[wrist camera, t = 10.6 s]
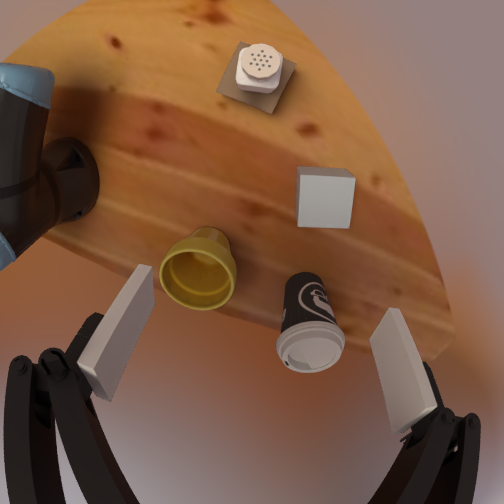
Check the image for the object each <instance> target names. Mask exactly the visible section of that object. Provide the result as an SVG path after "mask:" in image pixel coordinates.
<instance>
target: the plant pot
mask: <svg viewBox="0 0 504 504" xmlns="http://www.w3.org/2000/svg"><path fill="white" fill-rule="evenodd" d="M236 275H237V268H236V264H235V261H234V259H233V257H232V255H231V250H230V244H229V241H228V239H227V237H226V236H225V235H224V234H223V233H222V232H221V231H220V230H218V229H216V228H212V227H202V228H199V229H197V230H196V231H194V232H193V233H192V234H191V235H190V236H189V237H187V238H185V239H182V240H180V241H178V242H177V243H175V244H174V245H173V246H172V247H171V248H170V250H169V251H168V252H167V254H166V255H165V257H164V259H163V261H162V263H161V265H160V269H159V279H160V282H161V285H162V287H163V289H164V290H165V292H166V293H167V294H168V295H169V296H170V297H171V298H172V299H173V300H174V301H176V302H177V303H179V304H181V305H183V306H185V307H188V308H190V309H195V310H211V309H215V308H218V307H220V306H222V305H224V304H225V303H226V302H227V301H228V300H229V299H230V298H231V296H232V294H233V292H234V288H235V283H236Z"/></svg>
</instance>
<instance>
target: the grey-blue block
mask: <svg viewBox="0 0 504 504" xmlns="http://www.w3.org/2000/svg"><path fill="white" fill-rule="evenodd" d="M354 187H355V177H354V176H353V175H352V174H351V173H350V172H349V171H348V170H347V169H340V168H325V167H306V166H297V183H296V207H295V214H296V220H297V225H298V227H321V228H349V225H350V219H351V211H352V204H353V196H354Z"/></svg>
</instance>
